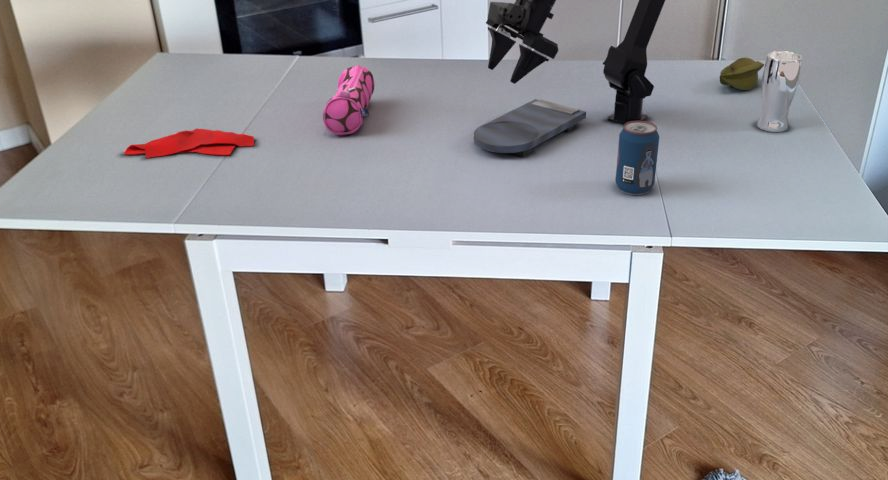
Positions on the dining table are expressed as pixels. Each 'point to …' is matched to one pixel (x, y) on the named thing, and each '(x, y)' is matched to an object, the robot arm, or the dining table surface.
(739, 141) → the dining table surface
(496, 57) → the robot arm
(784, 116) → the beer glass
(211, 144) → the cloth
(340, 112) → the pencil case
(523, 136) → the grey kitchen scale
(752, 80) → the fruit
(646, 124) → the soda can
